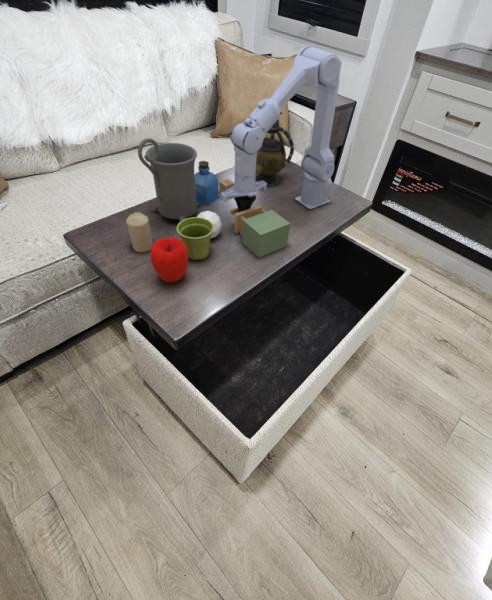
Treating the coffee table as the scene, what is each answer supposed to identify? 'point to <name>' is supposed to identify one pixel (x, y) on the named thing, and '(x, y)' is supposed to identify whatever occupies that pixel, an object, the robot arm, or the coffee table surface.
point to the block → (225, 185)
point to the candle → (139, 232)
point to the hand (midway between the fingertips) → (243, 216)
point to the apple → (169, 258)
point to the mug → (172, 177)
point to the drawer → (244, 216)
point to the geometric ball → (214, 219)
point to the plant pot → (196, 236)
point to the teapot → (273, 156)
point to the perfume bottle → (205, 184)
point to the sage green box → (265, 233)
